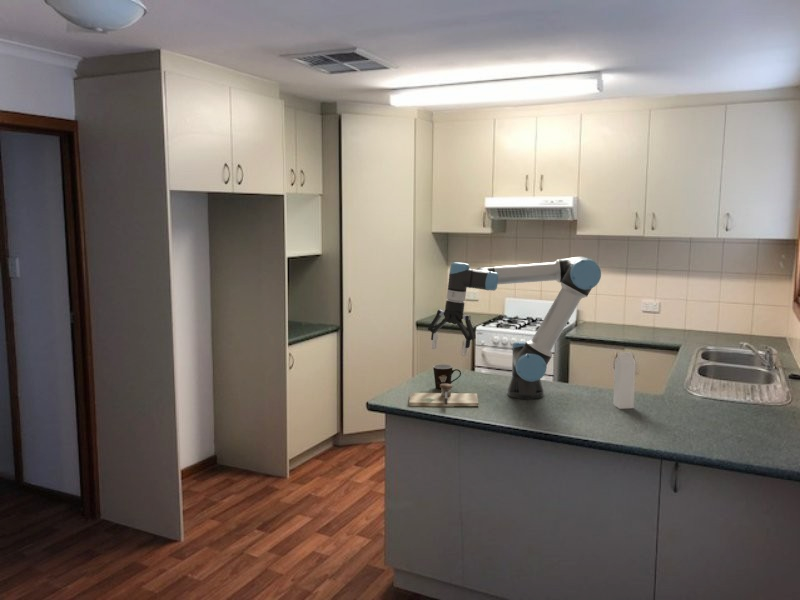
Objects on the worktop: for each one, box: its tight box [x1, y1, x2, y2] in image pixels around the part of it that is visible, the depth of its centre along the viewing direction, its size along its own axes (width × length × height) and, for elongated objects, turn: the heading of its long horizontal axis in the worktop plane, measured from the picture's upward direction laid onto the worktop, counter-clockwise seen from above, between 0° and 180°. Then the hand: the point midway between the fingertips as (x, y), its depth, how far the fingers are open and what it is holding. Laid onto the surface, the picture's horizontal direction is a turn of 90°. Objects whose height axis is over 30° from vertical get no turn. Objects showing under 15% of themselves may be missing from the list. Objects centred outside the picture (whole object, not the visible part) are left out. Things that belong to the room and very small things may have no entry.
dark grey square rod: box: [440, 383, 453, 405], centre depth 267 cm, size 5×17×4 cm, turn 176°
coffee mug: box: [432, 363, 462, 391], centre depth 288 cm, size 12×9×10 cm
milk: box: [612, 352, 637, 410], centre depth 260 cm, size 6×6×22 cm
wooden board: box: [408, 392, 479, 407], centre depth 270 cm, size 28×14×2 cm, turn 86°
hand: (448, 352), depth 265 cm, fingers open, 13 cm apart
